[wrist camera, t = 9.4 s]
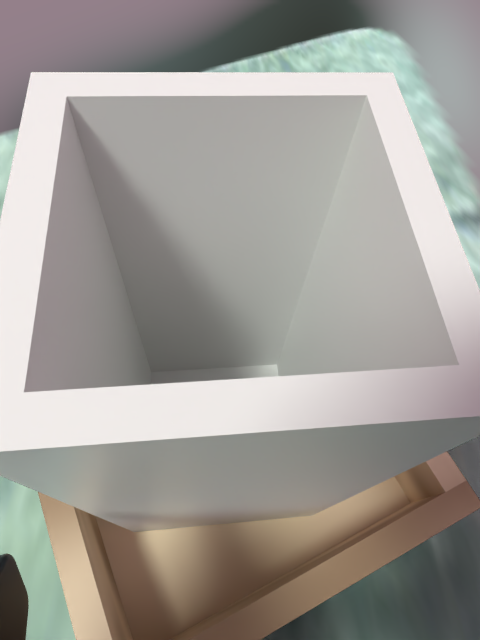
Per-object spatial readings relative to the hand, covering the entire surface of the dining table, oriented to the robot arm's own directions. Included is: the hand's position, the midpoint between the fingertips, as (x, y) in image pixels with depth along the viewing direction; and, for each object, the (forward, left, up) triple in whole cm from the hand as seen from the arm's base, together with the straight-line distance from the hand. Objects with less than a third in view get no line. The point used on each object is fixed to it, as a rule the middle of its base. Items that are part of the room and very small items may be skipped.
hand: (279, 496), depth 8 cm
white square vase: (+3, 0, -8) cm, 9 cm away
